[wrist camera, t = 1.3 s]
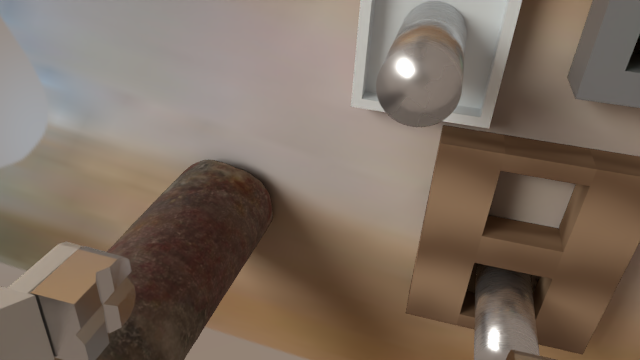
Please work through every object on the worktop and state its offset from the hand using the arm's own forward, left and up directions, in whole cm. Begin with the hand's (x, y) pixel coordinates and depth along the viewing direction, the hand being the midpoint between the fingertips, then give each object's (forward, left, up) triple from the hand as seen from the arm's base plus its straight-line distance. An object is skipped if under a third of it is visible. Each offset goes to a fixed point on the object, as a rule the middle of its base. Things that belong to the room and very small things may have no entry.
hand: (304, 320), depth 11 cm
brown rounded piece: (+14, -12, -22) cm, 29 cm away
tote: (0, +1, -22) cm, 22 cm away
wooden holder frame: (+13, +8, -22) cm, 27 cm away
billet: (0, +1, -22) cm, 22 cm away
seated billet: (+16, +8, -22) cm, 29 cm away
